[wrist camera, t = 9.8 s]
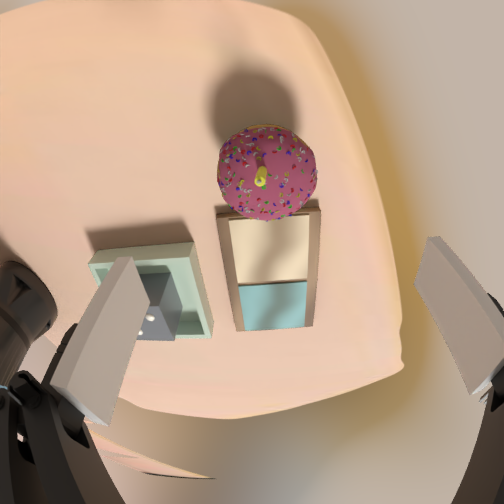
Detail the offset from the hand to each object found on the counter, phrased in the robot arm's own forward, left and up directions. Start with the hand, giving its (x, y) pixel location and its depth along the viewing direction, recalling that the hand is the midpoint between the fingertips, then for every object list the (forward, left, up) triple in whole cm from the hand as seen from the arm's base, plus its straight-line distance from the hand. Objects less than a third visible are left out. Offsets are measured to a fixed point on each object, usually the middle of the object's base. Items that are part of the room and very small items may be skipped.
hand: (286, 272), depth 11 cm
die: (-16, -16, -17) cm, 28 cm away
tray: (-16, -16, -18) cm, 28 cm away
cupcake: (0, 0, -18) cm, 18 cm away
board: (0, -15, -18) cm, 23 cm away
